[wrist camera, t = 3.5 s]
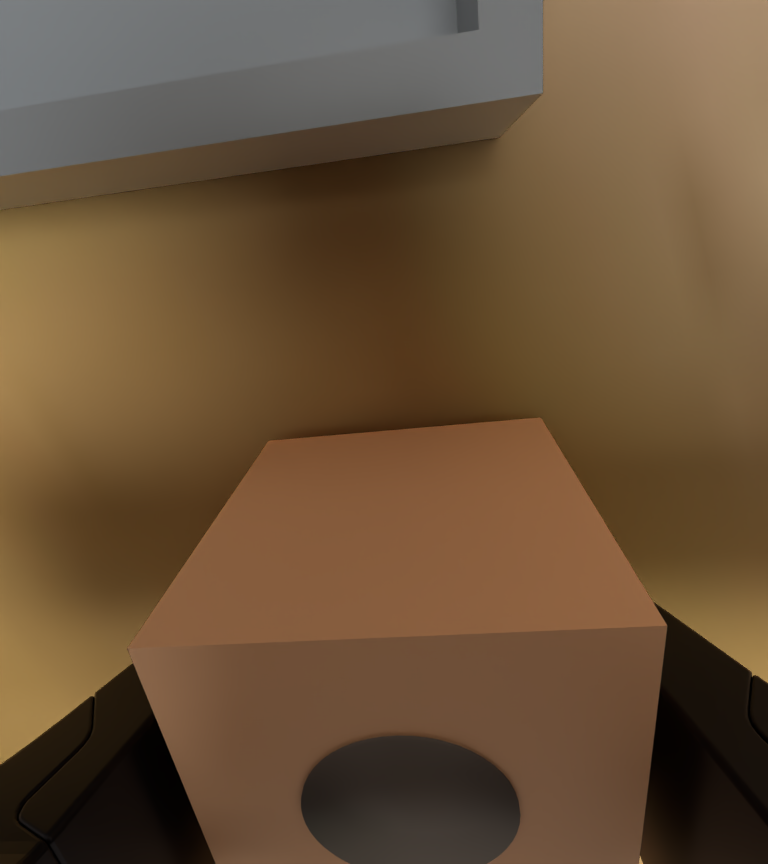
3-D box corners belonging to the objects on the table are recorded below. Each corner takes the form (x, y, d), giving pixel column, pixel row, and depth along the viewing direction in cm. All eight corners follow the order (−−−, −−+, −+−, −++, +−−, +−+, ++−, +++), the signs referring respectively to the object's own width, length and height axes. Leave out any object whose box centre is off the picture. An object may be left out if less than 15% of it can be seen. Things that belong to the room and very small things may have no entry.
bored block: (313, 642, 11) (241, 934, 7) (268, 440, 10) (124, 652, 5) (541, 633, 11) (631, 942, 6) (541, 417, 9) (671, 630, 4)
